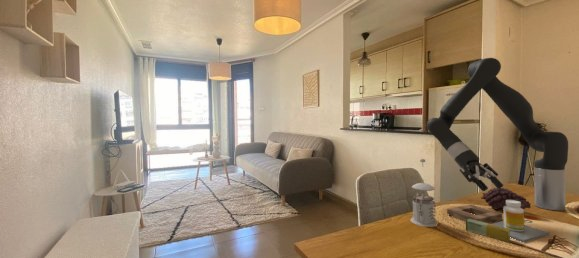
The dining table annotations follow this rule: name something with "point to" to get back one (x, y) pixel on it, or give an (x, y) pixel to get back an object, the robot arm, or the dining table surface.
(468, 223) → the medication box
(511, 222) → the supplement bottle
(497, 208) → the pine cone
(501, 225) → the slate pad
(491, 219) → the walnut collar
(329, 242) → the dining table surface
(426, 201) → the french press
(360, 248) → the dining table surface
